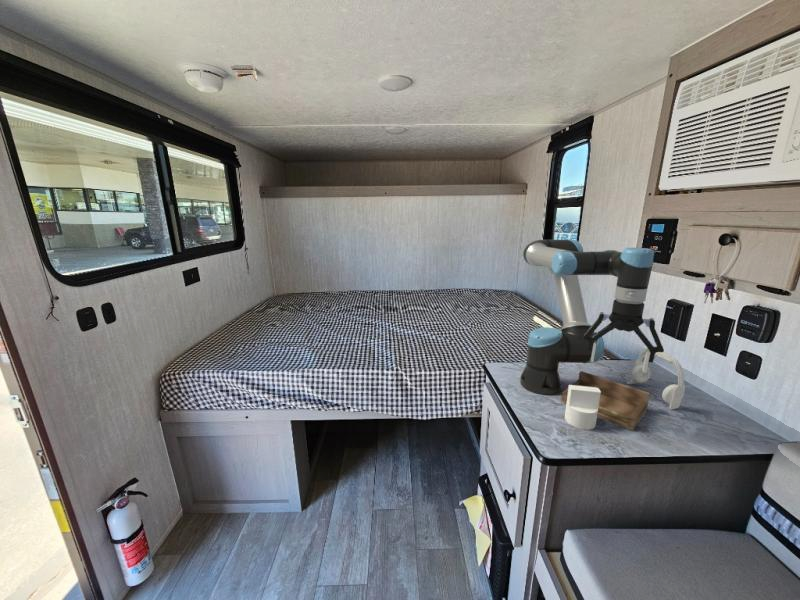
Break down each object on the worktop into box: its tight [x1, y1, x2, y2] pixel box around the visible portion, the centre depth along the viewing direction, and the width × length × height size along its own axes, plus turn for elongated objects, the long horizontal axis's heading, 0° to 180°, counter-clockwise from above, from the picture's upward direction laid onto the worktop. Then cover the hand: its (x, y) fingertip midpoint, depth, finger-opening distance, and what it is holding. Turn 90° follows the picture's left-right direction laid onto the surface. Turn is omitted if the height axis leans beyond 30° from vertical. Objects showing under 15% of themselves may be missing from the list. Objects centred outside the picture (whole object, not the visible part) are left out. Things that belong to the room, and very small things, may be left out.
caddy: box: [560, 370, 651, 431], centre depth 112 cm, size 22×16×7 cm
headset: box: [626, 347, 686, 411], centre depth 117 cm, size 20×7×18 cm, turn 0°
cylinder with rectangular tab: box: [564, 384, 601, 431], centre depth 103 cm, size 9×9×12 cm
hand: (617, 365), depth 99 cm, fingers open, 13 cm apart
